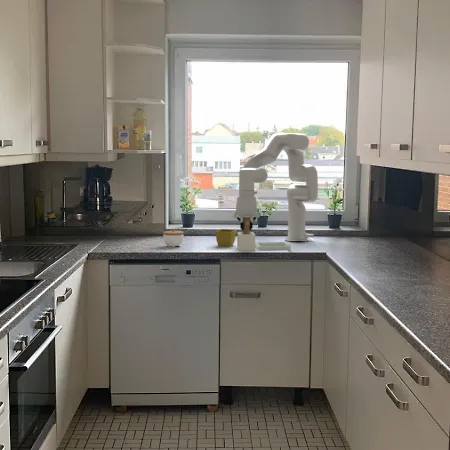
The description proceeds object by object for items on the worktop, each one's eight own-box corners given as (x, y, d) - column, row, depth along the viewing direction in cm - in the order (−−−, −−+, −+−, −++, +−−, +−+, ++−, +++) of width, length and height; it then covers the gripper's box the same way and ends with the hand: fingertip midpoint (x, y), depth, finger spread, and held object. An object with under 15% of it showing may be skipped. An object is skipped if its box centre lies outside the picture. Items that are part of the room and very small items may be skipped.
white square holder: (252, 249, 326) (252, 232, 325) (255, 252, 318) (255, 234, 317) (237, 249, 325) (237, 232, 324) (239, 252, 317) (239, 234, 316)
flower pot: (231, 249, 327) (231, 231, 326) (215, 248, 330) (215, 231, 329) (236, 246, 335) (236, 229, 334) (220, 245, 338) (220, 229, 337)
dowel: (249, 248, 324) (249, 217, 322) (250, 249, 320) (250, 217, 318) (242, 248, 323) (242, 217, 321) (243, 249, 320) (243, 217, 318)
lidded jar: (185, 245, 341) (185, 227, 339) (181, 248, 330) (181, 230, 329) (165, 244, 342) (165, 227, 341) (161, 247, 331) (161, 229, 330)
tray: (285, 247, 334) (285, 241, 334) (290, 251, 321) (290, 246, 320) (254, 247, 333) (254, 242, 332) (259, 252, 319) (259, 246, 319)
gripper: (261, 192, 323) (261, 229, 325) (229, 193, 321) (229, 229, 323) (264, 194, 315) (263, 231, 318) (231, 194, 314) (230, 231, 316)
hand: (246, 229), depth 321 cm, fingers closed on dowel, 3 cm apart
